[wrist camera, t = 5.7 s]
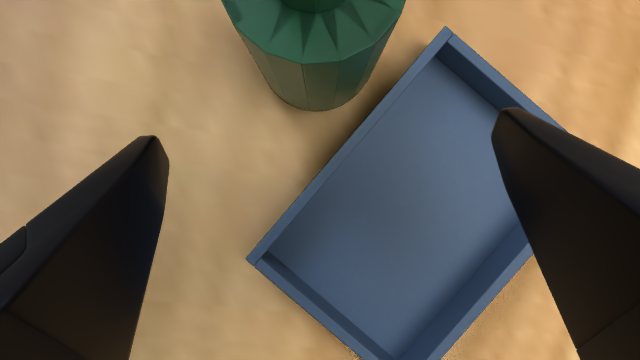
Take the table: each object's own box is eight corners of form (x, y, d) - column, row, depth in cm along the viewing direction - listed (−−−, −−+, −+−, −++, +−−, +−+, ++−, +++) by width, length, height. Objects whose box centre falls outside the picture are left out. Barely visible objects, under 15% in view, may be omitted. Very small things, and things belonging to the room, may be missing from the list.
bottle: (395, 49, 22) (507, -138, 9) (322, 134, 22) (325, 76, 9) (310, -24, 22) (295, -323, 9) (238, 61, 22) (114, -106, 9)
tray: (572, 168, 22) (609, 167, 19) (396, 369, 22) (407, 398, 19) (429, 44, 22) (445, 25, 19) (254, 248, 22) (244, 259, 19)
